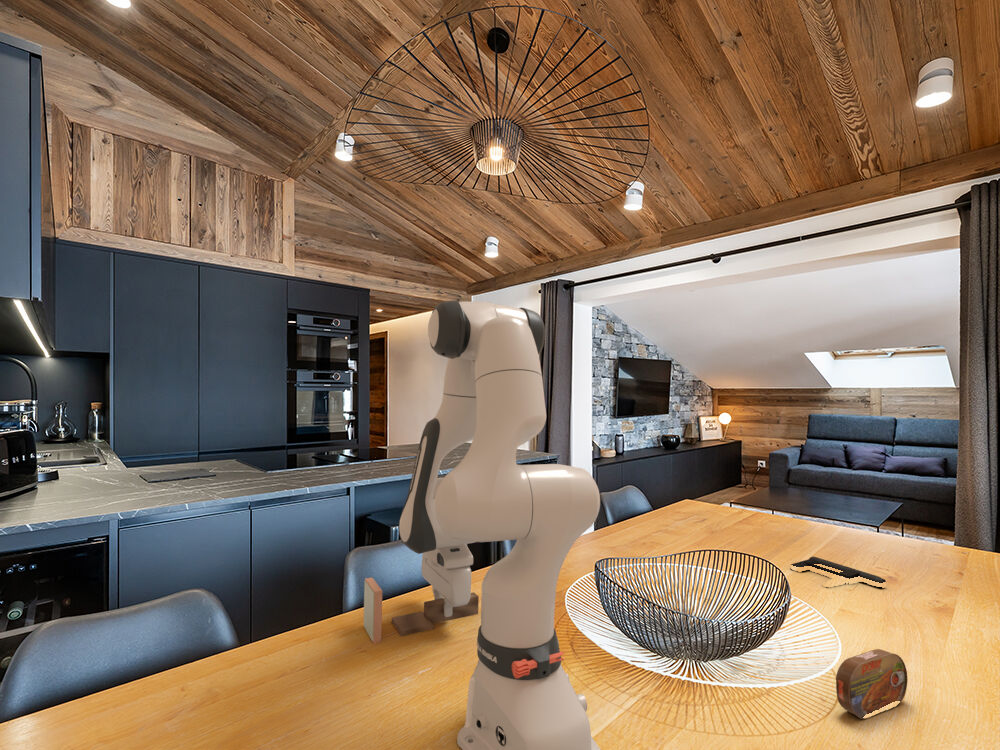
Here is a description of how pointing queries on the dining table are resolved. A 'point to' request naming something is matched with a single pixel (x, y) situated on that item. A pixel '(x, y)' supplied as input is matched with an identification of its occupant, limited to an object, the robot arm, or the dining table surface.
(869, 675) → the tin
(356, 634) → the dining table surface
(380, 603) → the tile
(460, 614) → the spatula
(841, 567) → the door handle
